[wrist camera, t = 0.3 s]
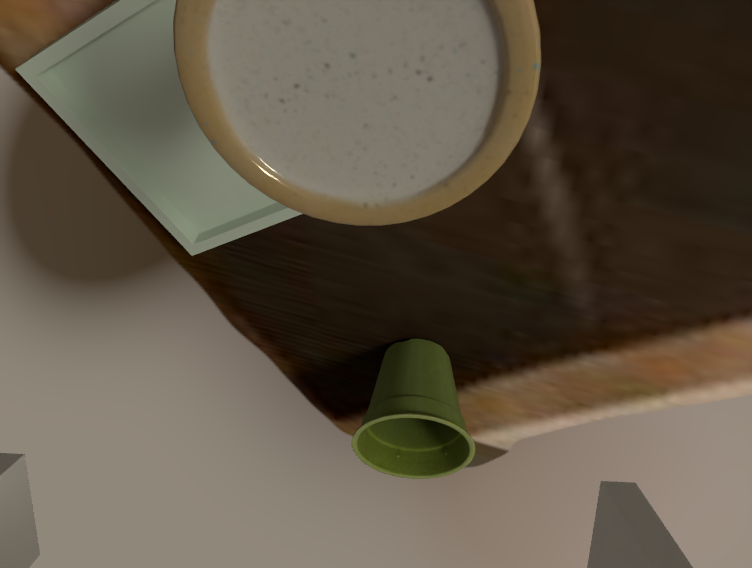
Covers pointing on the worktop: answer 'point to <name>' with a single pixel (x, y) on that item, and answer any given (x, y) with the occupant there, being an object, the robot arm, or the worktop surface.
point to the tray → (147, 123)
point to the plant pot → (414, 416)
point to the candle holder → (360, 97)
